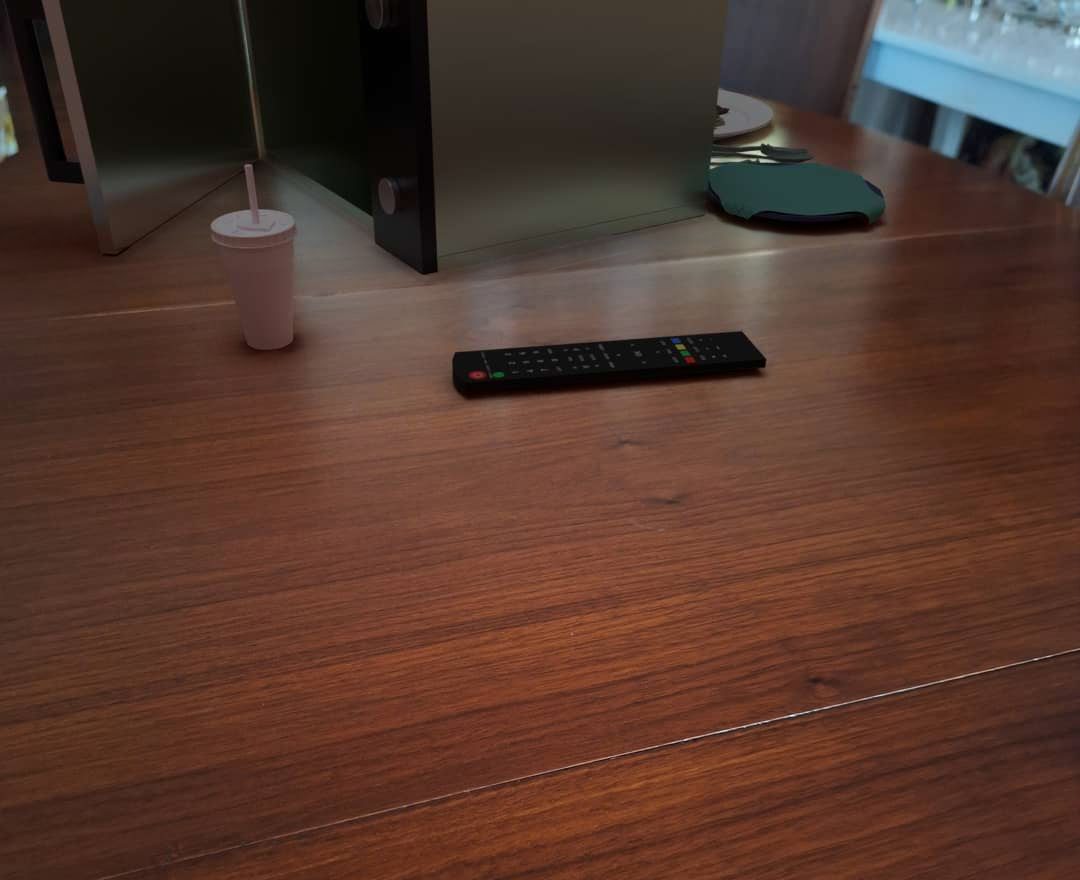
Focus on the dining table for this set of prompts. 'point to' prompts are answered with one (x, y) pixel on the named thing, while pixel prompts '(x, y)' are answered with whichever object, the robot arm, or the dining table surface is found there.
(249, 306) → the smoothie
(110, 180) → the microwave door
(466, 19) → the microwave
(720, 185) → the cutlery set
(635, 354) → the remote control
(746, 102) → the plated food
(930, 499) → the dining table surface
